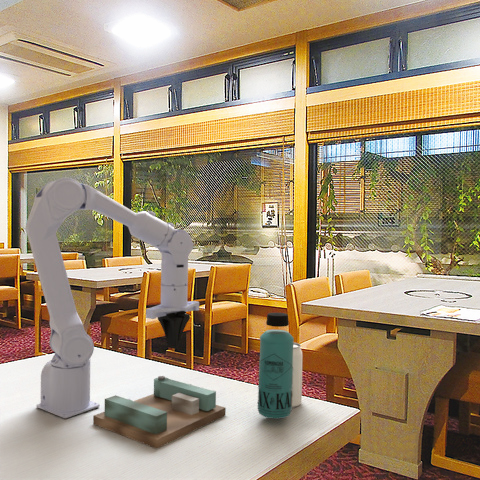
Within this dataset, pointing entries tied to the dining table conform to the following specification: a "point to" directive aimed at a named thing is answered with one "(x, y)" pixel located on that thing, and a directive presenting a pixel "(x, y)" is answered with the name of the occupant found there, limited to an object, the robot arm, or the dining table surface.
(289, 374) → the beverage bottle
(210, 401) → the folding leg
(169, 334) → the robot arm
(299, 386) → the can
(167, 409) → the wooden board
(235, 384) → the dining table surface
